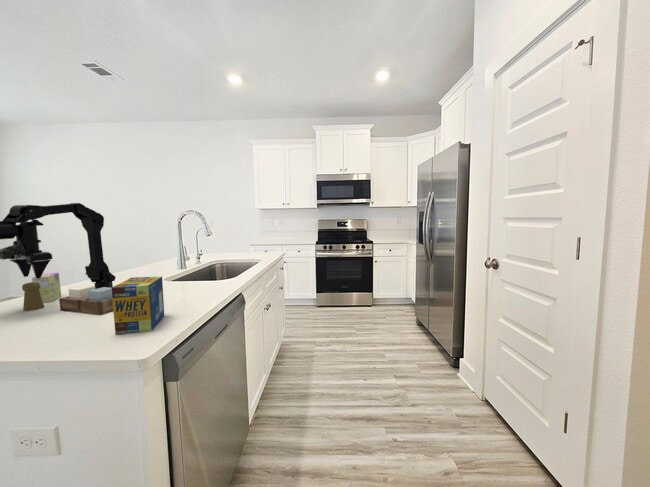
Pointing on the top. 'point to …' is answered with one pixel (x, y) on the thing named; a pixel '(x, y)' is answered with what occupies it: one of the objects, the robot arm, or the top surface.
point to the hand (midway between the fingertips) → (32, 277)
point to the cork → (32, 296)
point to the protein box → (138, 304)
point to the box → (49, 286)
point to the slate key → (100, 294)
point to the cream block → (80, 292)
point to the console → (86, 305)
